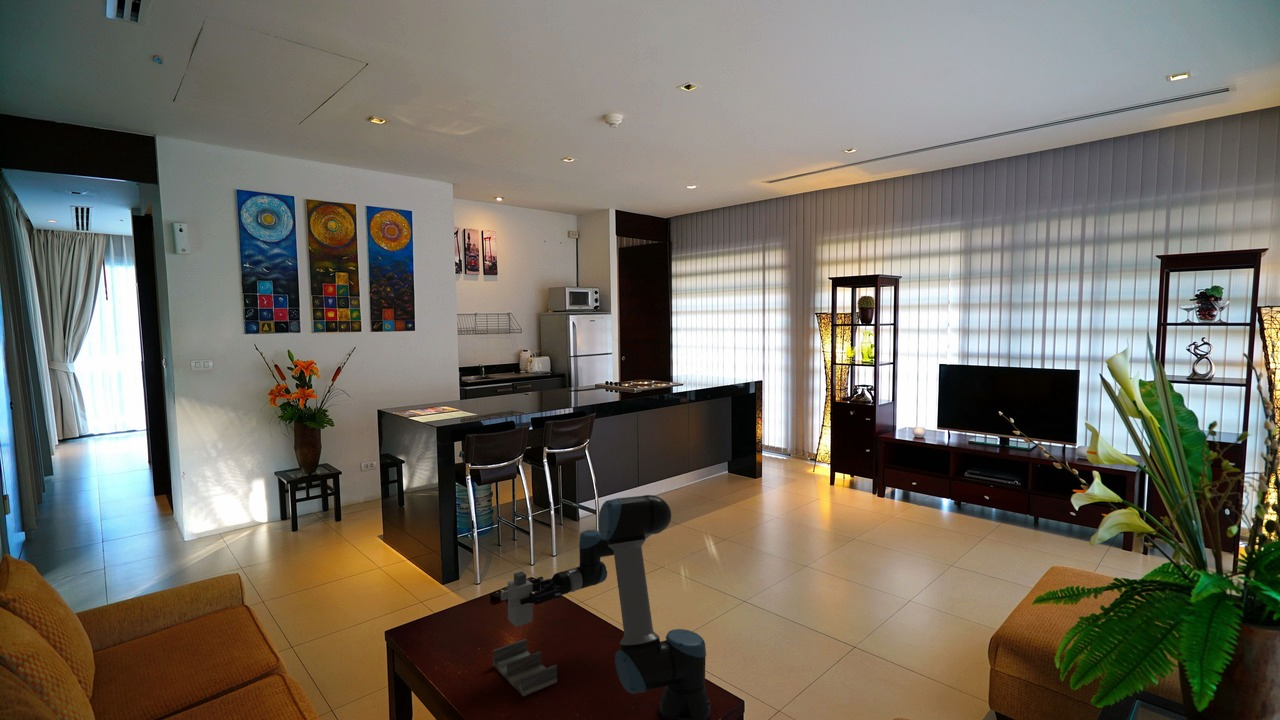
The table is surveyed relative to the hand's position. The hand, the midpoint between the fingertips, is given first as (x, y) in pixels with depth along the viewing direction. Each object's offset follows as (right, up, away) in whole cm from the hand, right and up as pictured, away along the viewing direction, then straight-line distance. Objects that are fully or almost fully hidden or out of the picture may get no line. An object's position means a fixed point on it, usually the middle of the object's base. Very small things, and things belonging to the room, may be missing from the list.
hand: (505, 600), depth 199 cm
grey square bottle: (+4, -8, +4) cm, 10 cm away
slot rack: (+6, -24, 0) cm, 25 cm away
